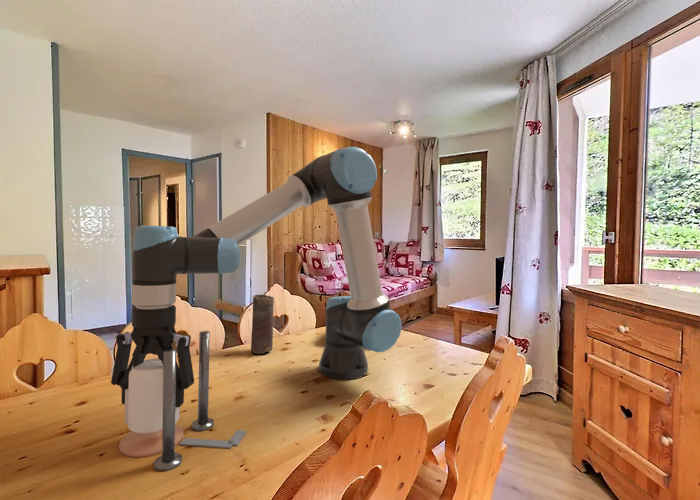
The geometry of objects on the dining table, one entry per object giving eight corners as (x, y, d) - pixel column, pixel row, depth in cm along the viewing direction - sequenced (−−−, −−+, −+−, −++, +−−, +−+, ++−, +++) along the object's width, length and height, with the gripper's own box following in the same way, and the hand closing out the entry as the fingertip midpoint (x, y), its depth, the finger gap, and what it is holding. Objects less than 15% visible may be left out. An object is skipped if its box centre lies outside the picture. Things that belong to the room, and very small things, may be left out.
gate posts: (217, 421, 79) (219, 329, 78) (173, 471, 61) (175, 355, 61) (197, 419, 79) (199, 329, 78) (148, 470, 62) (150, 354, 61)
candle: (263, 347, 132) (264, 293, 132) (277, 351, 128) (278, 295, 128) (246, 352, 126) (247, 295, 126) (260, 357, 122) (261, 298, 121)
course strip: (246, 432, 74) (246, 430, 74) (235, 448, 69) (235, 447, 68) (194, 428, 75) (194, 427, 75) (179, 445, 69) (179, 443, 69)
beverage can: (140, 415, 74) (141, 357, 74) (181, 414, 75) (182, 357, 75) (118, 436, 66) (120, 371, 66) (164, 435, 67) (166, 371, 66)
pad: (193, 427, 76) (193, 424, 76) (163, 459, 65) (163, 455, 65) (143, 424, 76) (143, 421, 76) (104, 455, 65) (104, 451, 65)
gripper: (215, 304, 73) (212, 415, 74) (116, 300, 74) (115, 409, 75) (197, 311, 66) (194, 435, 66) (88, 306, 67) (86, 427, 67)
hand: (152, 421), depth 70 cm, fingers closed on beverage can, 8 cm apart
